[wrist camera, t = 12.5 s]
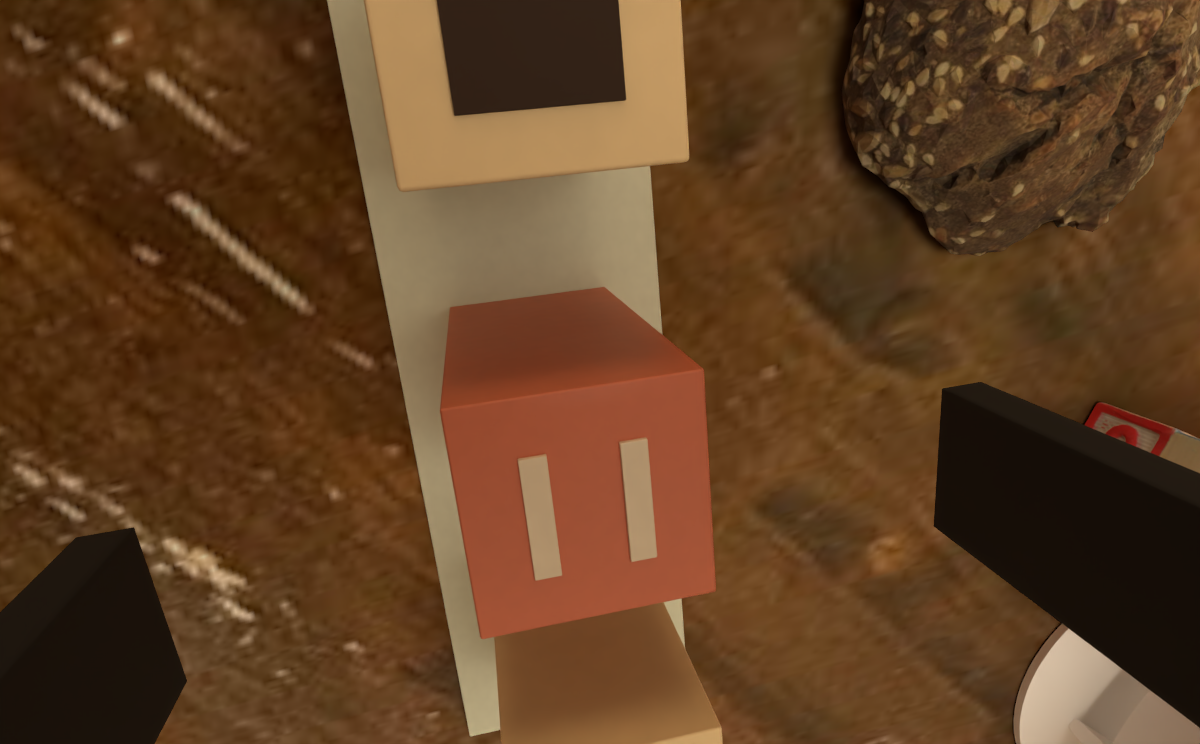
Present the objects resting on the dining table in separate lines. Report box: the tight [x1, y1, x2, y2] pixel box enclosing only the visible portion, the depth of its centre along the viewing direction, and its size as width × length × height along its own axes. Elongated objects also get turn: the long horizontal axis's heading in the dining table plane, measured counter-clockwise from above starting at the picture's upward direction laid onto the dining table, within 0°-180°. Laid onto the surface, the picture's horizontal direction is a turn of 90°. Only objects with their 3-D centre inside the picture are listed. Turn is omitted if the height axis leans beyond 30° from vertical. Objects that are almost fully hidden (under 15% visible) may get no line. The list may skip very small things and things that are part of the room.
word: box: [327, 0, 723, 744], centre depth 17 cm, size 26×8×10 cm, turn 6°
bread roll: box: [841, 0, 1200, 256], centre depth 19 cm, size 13×12×5 cm
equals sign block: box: [440, 287, 716, 639], centre depth 17 cm, size 5×5×9 cm
